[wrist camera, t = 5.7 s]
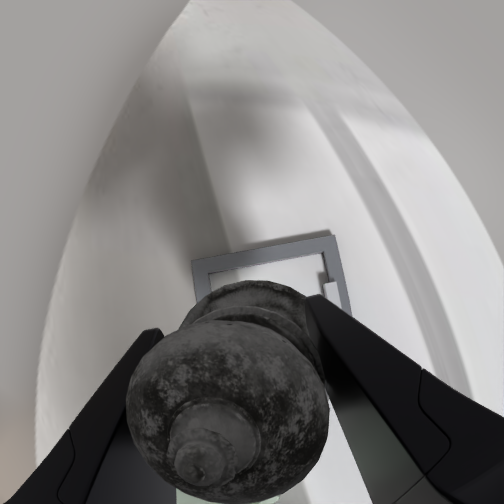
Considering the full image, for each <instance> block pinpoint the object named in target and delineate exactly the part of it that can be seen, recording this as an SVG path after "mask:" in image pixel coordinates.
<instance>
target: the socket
mask: <svg viewBox="0 0 504 504" xmlns="http://www.w3.org/2000/svg"><path fill="white" fill-rule="evenodd" d="M319 253H323V255H324V260H325V264H326V269H327V274H328V278H329V283H326V284H324V285H323V289H324V294H325V298H327V299H328V300H330V301H331V302H332V303H334V304H335V305H337V306H338V307H339V308H341V309H342V310H344V311H345V312H346V313H348V314H349V315H351V316H352V312H351V306H350V301H349V296H348V292H347V287H346V282H345V277H344V273H343V268H342V264H341V259H340V255H339V251H338V246H337V242H336V238H335V235H330V236H324V237H319V238H313V239H308V240H302V241H297V242H291V243H286V244H280V245H275V246H269V247H264V248H258V249H253V250H247V251H242V252H236V253H231V254H225V255H220V256H214V257H209V258H203V259H198V260H192V261H191V263H192V270H193V278H194V285H195V292H196V298H197V303H198V302H199V301H201V300H202V299H203V298H204V297H205V296H206V295H208V294H210V293H212V292H211V285H210V278H209V273H215V272H221V271H226V270H232V269H238V268H243V267H249V266H254V265H260V264H265V263H271V262H276V261H282V260H287V259H292V258H298V257H303V256H309V255H314V254H319Z"/></svg>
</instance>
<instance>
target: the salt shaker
mask: <svg viewBox="0 0 504 504" xmlns="http://www.w3.org/2000/svg"><path fill="white" fill-rule="evenodd" d="M305 298H306V296H304V295H303V294H301V293H299V292H297V291H296V290H294V289H292V288H291V287H289V286H285V285H281V284H278V283H274V282H271V281H254V280H245V281H241V282H237V283H233V284H229V285H225V286H223V287H221V288H219V289H217V290H215V291H213V292H212V293H210V294H208V295H206V296H205V297H204V298H203V299H202V300H201V301H199V302H198V303H197V304H196V305H195V306H194V307H193V308H192V309H191V310H190V311H189V313H188V314H187V316H186V318H185V319H184V321H183V322H182V324H181V326H180V327H179V330H177V331H175V332H173V333H171V334H169V335H167V336H165V337H164V338H163V339H162V340H161V341H160V342H158V343H157V344H156V345H155V346H154V347H153V348H152V349H151V350H150V351H149V352H148V353H146V354H145V355H144V356H143V357H142V359H141V361H140V362H139V364H138V366H137V367H136V369H135V371H134V373H133V374H132V376H131V379H130V383H129V387H128V391H127V396H126V414H127V423H128V426H129V429H130V432H131V436H132V439H133V442H134V444H135V446H136V447H137V449H138V450H139V452H140V454H141V455H142V457H143V458H144V460H145V461H146V463H147V464H148V465H149V466H150V467H151V468H152V469H153V470H154V471H155V472H156V473H157V474H158V475H159V476H160V477H161V478H162V479H163V480H164V481H166V482H167V483H169V484H170V485H172V486H174V487H175V488H177V489H178V490H180V491H182V492H183V493H185V494H188V495H190V496H193V497H196V498H199V499H202V500H205V501H208V502H213V503H222V504H248V503H256V502H262V501H265V500H267V499H270V498H273V497H275V496H278V495H281V494H283V493H285V492H286V491H288V490H289V489H291V488H292V487H294V486H295V485H296V484H298V483H299V482H301V481H302V480H303V479H304V478H305V477H306V476H307V474H308V473H309V472H310V471H311V470H312V468H313V467H314V466H315V465H316V463H317V462H318V460H319V458H320V456H321V453H322V451H323V448H324V446H325V443H326V440H327V436H328V427H329V412H330V408H329V404H328V400H329V396H328V394H327V391H326V389H325V375H324V372H323V368H322V365H321V361H320V357H319V353H318V351H317V349H316V347H315V345H314V344H313V342H312V340H311V339H310V336H309V332H308V329H307V324H306V316H305V307H304V299H305Z"/></svg>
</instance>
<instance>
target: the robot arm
mask: <svg viewBox="0 0 504 504" xmlns="http://www.w3.org/2000/svg"><path fill="white" fill-rule="evenodd" d="M304 307H305V316H306V324H307V329H308V332H309V336H310V339H311V340H312V342H313V344H314V345H315V347H316V349H317V351H318V353H319V357H320V361H321V365H322V368H323V372H324V375H325V389H326V391H327V394H328V396H329V399H330V401H331V403H332V406H333V408H334V411H335V413H336V415H337V418H338V420H339V423H340V425H341V427H342V430H343V432H344V435H345V437H346V439H347V442H348V444H349V447H350V449H351V451H352V454H353V456H354V459H355V461H356V464H357V466H358V469H359V471H360V473H361V476H362V478H363V481H364V483H365V486H366V488H367V491H368V493H369V496H370V498H371V501H372V503H373V504H504V417H502V416H501V415H499V414H497V413H495V412H493V411H491V410H489V409H488V408H486V407H484V406H482V405H480V404H478V403H477V402H475V401H473V400H471V399H470V398H468V397H466V396H465V395H463V394H461V393H460V392H458V391H456V390H454V389H453V388H451V387H450V386H448V385H447V384H446V383H444V382H443V381H441V380H440V379H438V378H437V377H435V376H434V375H433V374H431V373H430V372H428V371H427V370H426V369H422V367H421V366H420V365H419V364H417V363H416V362H414V361H413V360H412V359H410V358H409V357H407V356H406V355H405V354H403V353H402V352H401V351H399V350H398V349H396V348H395V347H394V346H392V345H391V344H389V343H388V342H387V341H385V340H384V339H382V338H381V337H380V336H378V335H377V334H376V333H374V332H373V331H371V330H370V329H369V328H367V327H366V326H364V325H363V324H362V323H360V322H359V321H357V320H356V319H355V318H353V317H352V316H351V315H349V314H348V313H346V312H345V311H344V310H342V309H341V308H339V307H338V306H337V305H335V304H334V303H332V302H331V301H330V300H328V299H327V298H325V297H324V296H323V295H321V294H316V295H312V296H308V297H306V298H305V299H304ZM163 338H164V335H163V333H162V331H161V330H160V329H158V328H154V329H148V330H144V331H143V332H142V333H141V334H140V336H139V337H138V338H137V339H136V341H135V342H134V343H133V344H132V346H131V347H130V348H129V349H128V351H127V352H126V353H125V355H124V356H123V357H122V358H121V360H120V361H119V362H118V363H117V365H116V366H115V367H114V369H113V370H112V371H111V372H110V374H109V375H108V376H107V378H106V379H105V380H104V381H103V383H102V384H101V385H100V387H99V388H98V389H97V391H96V392H95V393H94V395H93V396H92V397H91V398H90V400H89V401H88V402H87V404H86V405H85V406H84V408H83V409H82V410H81V412H80V413H79V414H78V416H77V417H76V418H75V420H74V421H73V422H72V424H71V425H70V427H69V429H67V430H66V432H65V433H64V435H63V436H62V437H61V439H60V440H59V441H58V443H57V444H56V445H55V446H54V448H53V449H52V450H51V452H50V453H49V454H48V456H47V457H46V458H45V459H44V460H43V461H42V463H41V464H40V465H39V466H38V467H37V469H36V470H35V471H34V472H33V473H32V474H31V476H30V477H29V478H28V479H27V480H26V481H25V482H24V484H23V485H22V486H21V487H20V488H19V489H18V491H17V492H16V493H15V494H14V495H13V496H12V497H11V498H10V499H9V500H8V501H7V502H5V503H4V504H177V494H176V488H175V487H174V486H172V485H170V484H169V483H167V482H166V481H164V480H163V479H162V478H161V477H160V476H159V475H158V474H157V473H156V472H155V471H154V470H153V469H152V468H151V467H150V466H149V465H148V464H147V463H146V461H145V460H144V458H143V457H142V455H141V454H140V452H139V450H138V449H137V447H136V446H135V444H134V442H133V439H132V436H131V432H130V429H129V426H128V423H127V414H126V396H127V391H128V387H129V383H130V379H131V376H132V374H133V373H134V371H135V369H136V367H137V366H138V364H139V362H140V361H141V359H142V357H143V356H144V355H145V354H146V353H148V352H149V351H150V350H151V349H152V348H153V347H154V346H155V345H156V344H157V343H158V342H160V341H161V340H162V339H163Z"/></svg>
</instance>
